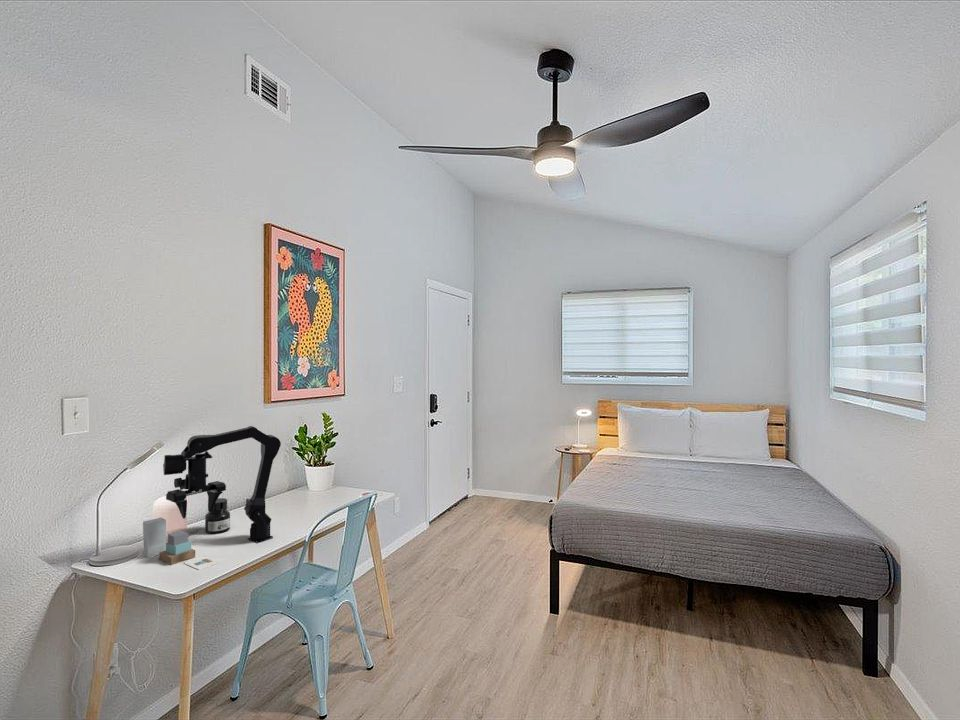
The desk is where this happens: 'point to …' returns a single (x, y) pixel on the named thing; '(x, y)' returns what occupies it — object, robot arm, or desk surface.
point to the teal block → (178, 548)
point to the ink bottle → (218, 518)
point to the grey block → (177, 538)
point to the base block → (176, 557)
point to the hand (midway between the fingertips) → (197, 514)
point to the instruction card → (201, 563)
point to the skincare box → (154, 537)
